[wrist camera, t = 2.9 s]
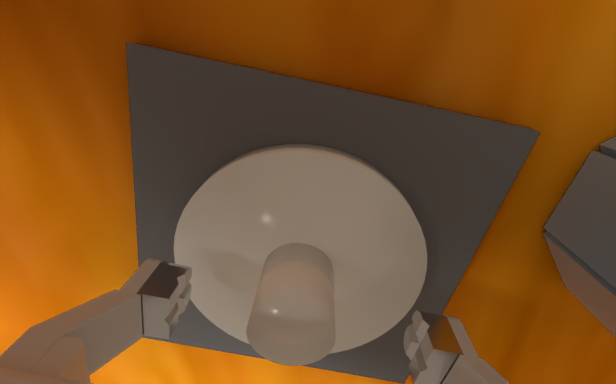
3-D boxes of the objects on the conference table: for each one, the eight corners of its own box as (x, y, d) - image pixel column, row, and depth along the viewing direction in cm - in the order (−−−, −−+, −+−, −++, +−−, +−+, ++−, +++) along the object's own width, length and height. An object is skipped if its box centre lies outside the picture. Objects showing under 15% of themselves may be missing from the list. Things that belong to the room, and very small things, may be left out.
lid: (183, 317, 15) (140, 402, 12) (184, 118, 11) (115, 157, 7) (380, 351, 16) (397, 444, 12) (459, 172, 11) (522, 234, 8)
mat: (148, 327, 17) (143, 337, 16) (136, 42, 10) (126, 43, 10) (401, 372, 17) (404, 383, 17) (529, 127, 11) (540, 132, 10)
